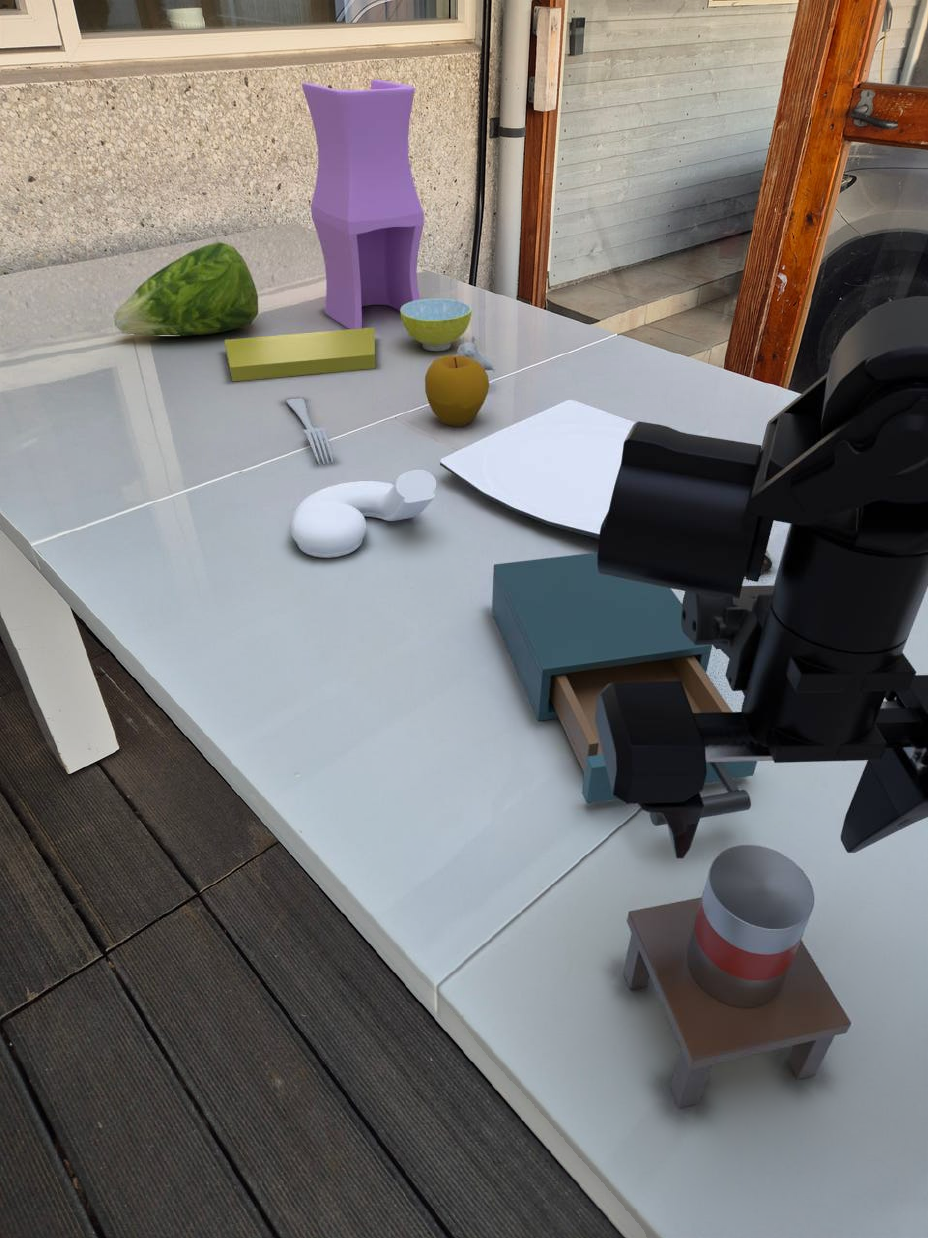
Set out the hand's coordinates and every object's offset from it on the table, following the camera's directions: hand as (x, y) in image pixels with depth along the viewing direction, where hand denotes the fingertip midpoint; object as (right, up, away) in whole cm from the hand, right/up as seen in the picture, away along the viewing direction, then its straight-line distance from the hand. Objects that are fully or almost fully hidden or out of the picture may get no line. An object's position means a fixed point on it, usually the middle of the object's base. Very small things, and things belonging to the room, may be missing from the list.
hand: (762, 848), depth 47 cm
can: (-1, -7, +2) cm, 7 cm away
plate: (-1, +29, +61) cm, 67 cm away
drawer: (-1, +2, +23) cm, 23 cm away
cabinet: (-4, +9, +34) cm, 35 cm away
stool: (-1, -12, +6) cm, 13 cm away
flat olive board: (-40, +53, +92) cm, 114 cm away
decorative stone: (+12, +18, +46) cm, 51 cm away
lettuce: (-62, +60, +101) cm, 133 cm away
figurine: (-15, +46, +84) cm, 97 cm away
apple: (-17, +39, +74) cm, 86 cm away
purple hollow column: (-32, +66, +110) cm, 132 cm away
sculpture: (-28, +22, +51) cm, 62 cm away
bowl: (-20, +57, +98) cm, 115 cm away
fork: (-37, +37, +71) cm, 89 cm away
